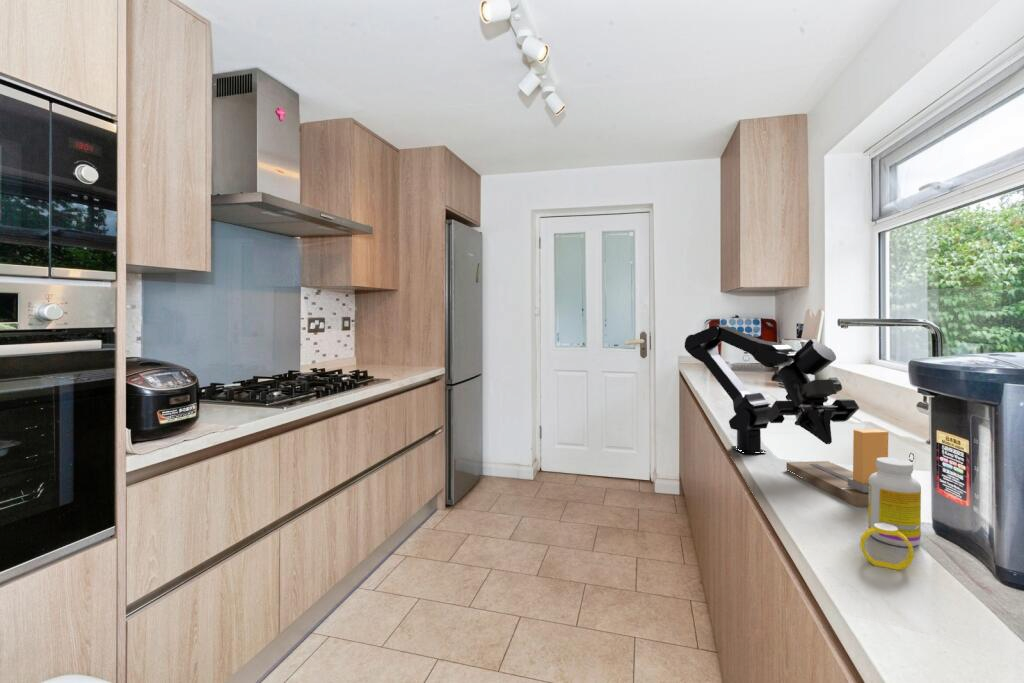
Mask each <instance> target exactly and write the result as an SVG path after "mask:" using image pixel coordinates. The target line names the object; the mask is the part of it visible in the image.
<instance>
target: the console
mask: <svg viewBox="0 0 1024 683" xmlns="http://www.w3.org/2000/svg"><path fill="white" fill-rule="evenodd" d="M786 469H787V470H789V471H791V472H793V473H795V474H796V475H798V476H800V477H802V478H803V479H802V478H801V479H802V480H804V479H805V480H804V481H806V480H807V481H806V482H808V483H810V484H811V483H812V485H813V484H814V486H816V487H818V488H819V489H822V490H823V491H825V492H827V493H829V494H831V495H833V496H835V497H837V498H839V499H841V500H842V501H845V502H846V503H848V504H851V505H852V506H854V507H856V508H860V507H861V508H863V507H864V508H865V507H869V493H863V492H860V491H858V490H856V489H854V488H852V487H850V486H848V478H853V470H850V469H847V468H845V467H843V466H840V465H838V464H835V463H833V462H831V461H829V460H823V461H820V460H818V461H789V462H786ZM796 475H795V476H796ZM798 476H797V477H798ZM800 477H799V478H800Z"/></svg>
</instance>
